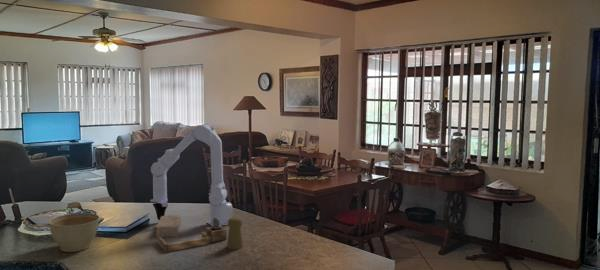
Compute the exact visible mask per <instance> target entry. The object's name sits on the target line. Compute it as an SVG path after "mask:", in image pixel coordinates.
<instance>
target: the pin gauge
mask: <svg viewBox="0 0 600 270" xmlns="http://www.w3.org/2000/svg"><path fill="white" fill-rule="evenodd" d="M212 227H213V231H215V230H219V218H213V226H212Z"/></svg>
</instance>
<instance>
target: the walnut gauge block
mask: <svg viewBox="0 0 600 270" xmlns="http://www.w3.org/2000/svg"><path fill="white" fill-rule="evenodd" d="M205 234H207V235H208V236H209V237H211V243H215V242H220V241H226V240H227V229H226V228H225V227H223V226H219V230H215V231H213V226H211V227H210V226H209V227H205Z"/></svg>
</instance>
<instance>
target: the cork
mask: <svg viewBox="0 0 600 270" xmlns="http://www.w3.org/2000/svg"><path fill="white" fill-rule="evenodd" d="M242 225H243V219H242V218H241V217H237V216H233V217H232V218H230V219H229V220H228V225H227V226H228V227H229V230H228V236H227V244H226V248H227V249H228V250H241V249H243V247H244V242H243V235H242V227H241V226H242Z"/></svg>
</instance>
